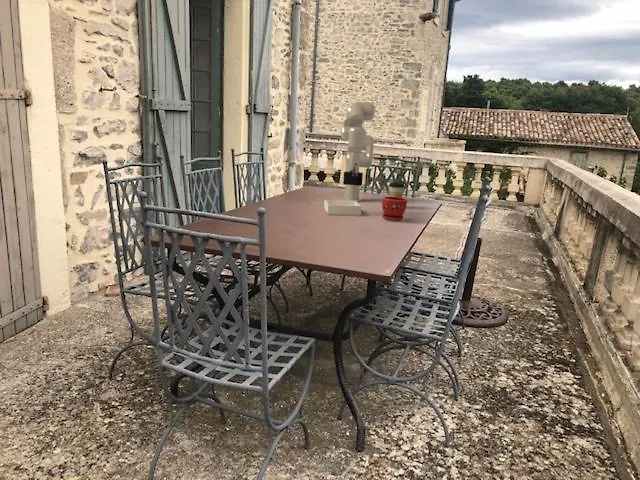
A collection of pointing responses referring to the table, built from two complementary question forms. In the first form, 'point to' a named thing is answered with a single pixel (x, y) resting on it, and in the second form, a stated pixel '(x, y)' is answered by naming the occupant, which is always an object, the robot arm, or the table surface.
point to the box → (342, 207)
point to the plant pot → (393, 208)
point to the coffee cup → (396, 190)
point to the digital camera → (349, 176)
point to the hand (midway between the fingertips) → (352, 182)
